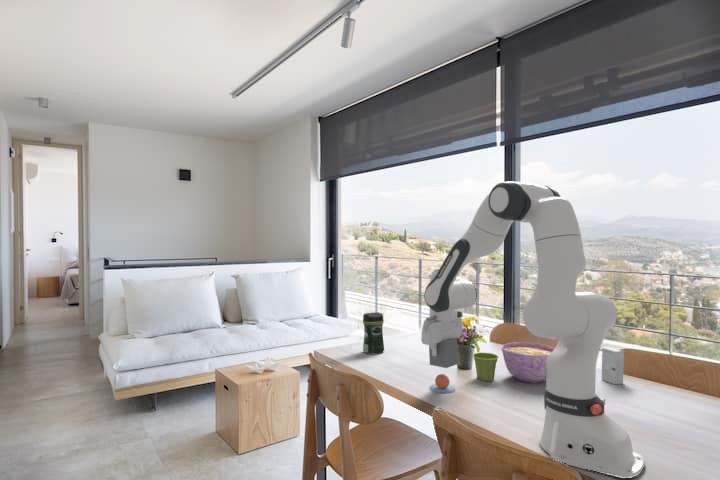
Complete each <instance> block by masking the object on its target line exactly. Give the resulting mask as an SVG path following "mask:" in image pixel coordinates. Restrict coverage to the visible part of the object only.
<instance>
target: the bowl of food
mask: <svg viewBox="0 0 720 480" xmlns="http://www.w3.org/2000/svg"><path fill="white" fill-rule="evenodd" d="M554 349H555V347H552V346H550V345H545V344H540V343H534V342H519V341H518V342H509V343H505V344H502V345H501V352H502V356H503V360H504V363H505V367H506V369H507V370H508V372H509V374H510V375H512V376H513V377H515V378H517V379H518V380H519V381H522V382H524V383H531V384H534V383H540V382H542V381H544V380H546V361H547V358H548V356H549V354H550V353H551V352H552V351H553V350H554Z"/></svg>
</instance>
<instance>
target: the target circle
mask: <svg viewBox="0 0 720 480" xmlns="http://www.w3.org/2000/svg"><path fill="white" fill-rule="evenodd" d="M429 390H430V391H432V392H434V393H438V394H450V393H453V392H455V391H456V387H454V386H453V385H451V384H449V386H448V387H447V388H445V389H440V388H438V387H437V386H436V384H432V385H430V386H429Z"/></svg>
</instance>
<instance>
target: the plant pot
mask: <svg viewBox="0 0 720 480" xmlns="http://www.w3.org/2000/svg"><path fill="white" fill-rule="evenodd" d="M472 357H473V360H474V363H475V364H474V365H475V370H476V371H475V372H476V377H477V379H478V380H481V381H483V382H484V381H485V382H489V381H493V380H495V374H496V373H495V372H496V368H497V367H496V366H497V362H498V359H499V355H497V354H496V353H491V352H476V353H473V354H472Z"/></svg>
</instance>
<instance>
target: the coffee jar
mask: <svg viewBox="0 0 720 480" xmlns="http://www.w3.org/2000/svg"><path fill="white" fill-rule="evenodd" d="M384 322H385V321H384V315H383V313H381V312H366V313H364V314H363V317H362V323H363V326H364V333H363V335H364V336H363V345H362V348H363V349H362V350H363V353H365V354H368V353H377V354H380V353H379V352H382V353H384V352H385V345H384V344H385V343H384V334H383V325H384ZM383 351H384V352H383Z"/></svg>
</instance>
